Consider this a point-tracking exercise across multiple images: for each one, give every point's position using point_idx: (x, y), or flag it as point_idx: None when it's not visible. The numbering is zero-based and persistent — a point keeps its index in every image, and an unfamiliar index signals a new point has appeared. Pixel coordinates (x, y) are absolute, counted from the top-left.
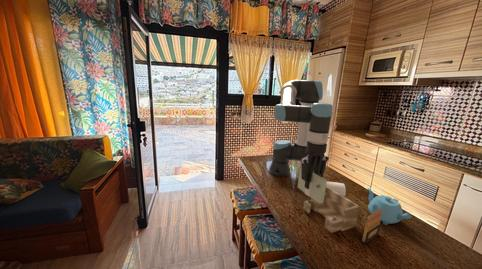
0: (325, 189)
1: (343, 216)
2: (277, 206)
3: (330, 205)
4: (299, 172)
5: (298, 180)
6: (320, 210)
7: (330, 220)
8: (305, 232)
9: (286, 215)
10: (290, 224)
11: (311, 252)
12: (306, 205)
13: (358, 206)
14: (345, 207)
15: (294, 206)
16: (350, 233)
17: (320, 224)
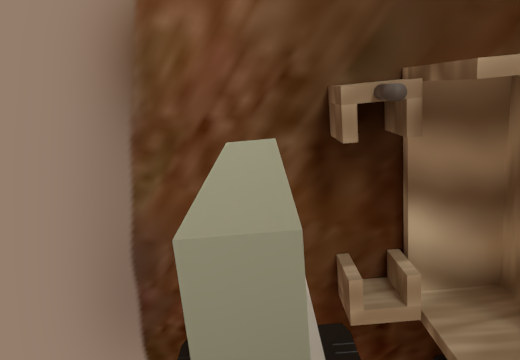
0: None
1: (439, 339)
2: (169, 13)
3: (517, 135)
4: (198, 196)
5: (217, 161)
6: (418, 145)
7: (360, 301)
8: None
9: (185, 118)
10: (169, 193)
11: (173, 356)
12: (337, 115)
13: None
14: None
15: (288, 44)
16: None
17: (332, 232)
